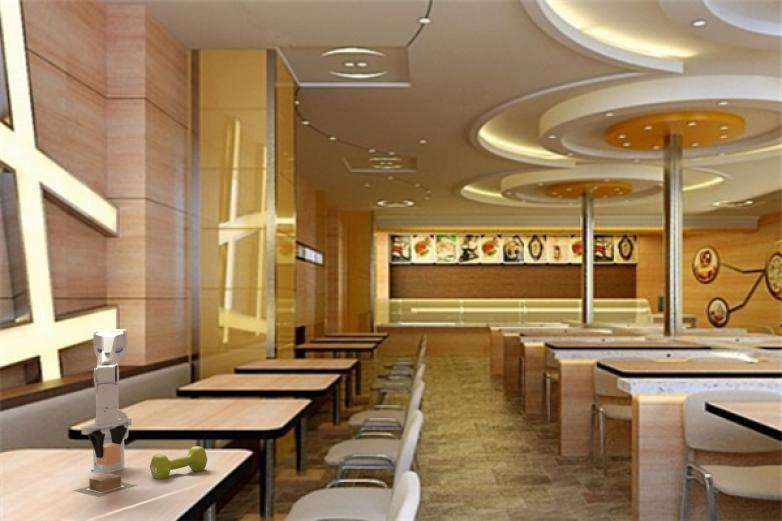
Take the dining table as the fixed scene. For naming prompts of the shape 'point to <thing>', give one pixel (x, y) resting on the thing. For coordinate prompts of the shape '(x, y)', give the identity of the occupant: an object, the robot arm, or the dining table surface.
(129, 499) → the dining table surface
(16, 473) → the dining table surface
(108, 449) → the top block
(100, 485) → the base block
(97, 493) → the grey square base plate
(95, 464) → the robot arm
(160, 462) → the dumbbell
